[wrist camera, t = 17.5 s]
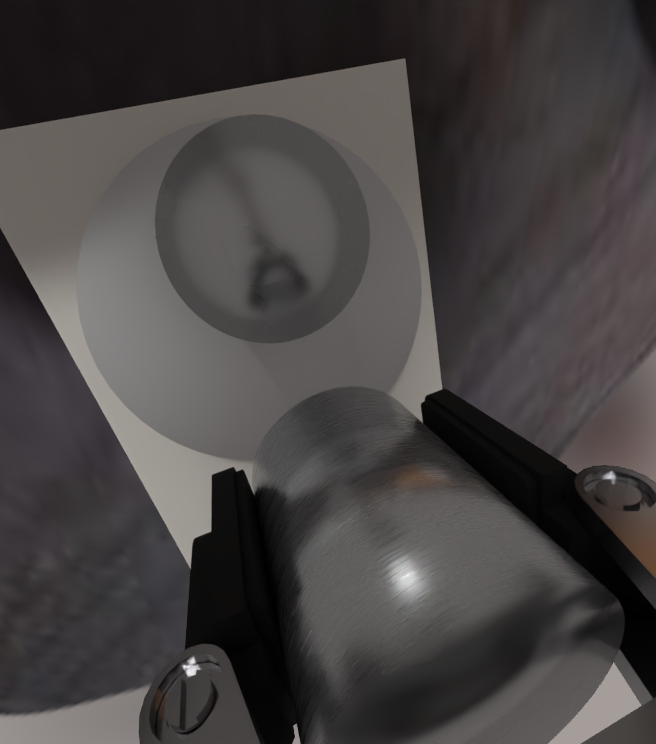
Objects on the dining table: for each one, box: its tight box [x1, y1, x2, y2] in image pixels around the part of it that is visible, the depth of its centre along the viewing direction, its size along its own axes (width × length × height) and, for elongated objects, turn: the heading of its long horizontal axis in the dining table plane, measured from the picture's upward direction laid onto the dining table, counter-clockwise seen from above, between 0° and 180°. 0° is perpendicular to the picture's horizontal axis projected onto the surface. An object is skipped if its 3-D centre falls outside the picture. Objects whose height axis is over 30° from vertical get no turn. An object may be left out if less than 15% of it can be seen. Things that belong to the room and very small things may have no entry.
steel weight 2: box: [252, 386, 625, 744], centre depth 8 cm, size 5×5×6 cm
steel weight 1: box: [155, 114, 370, 343], centre depth 11 cm, size 5×5×6 cm
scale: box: [0, 58, 442, 569], centre depth 18 cm, size 22×16×4 cm
